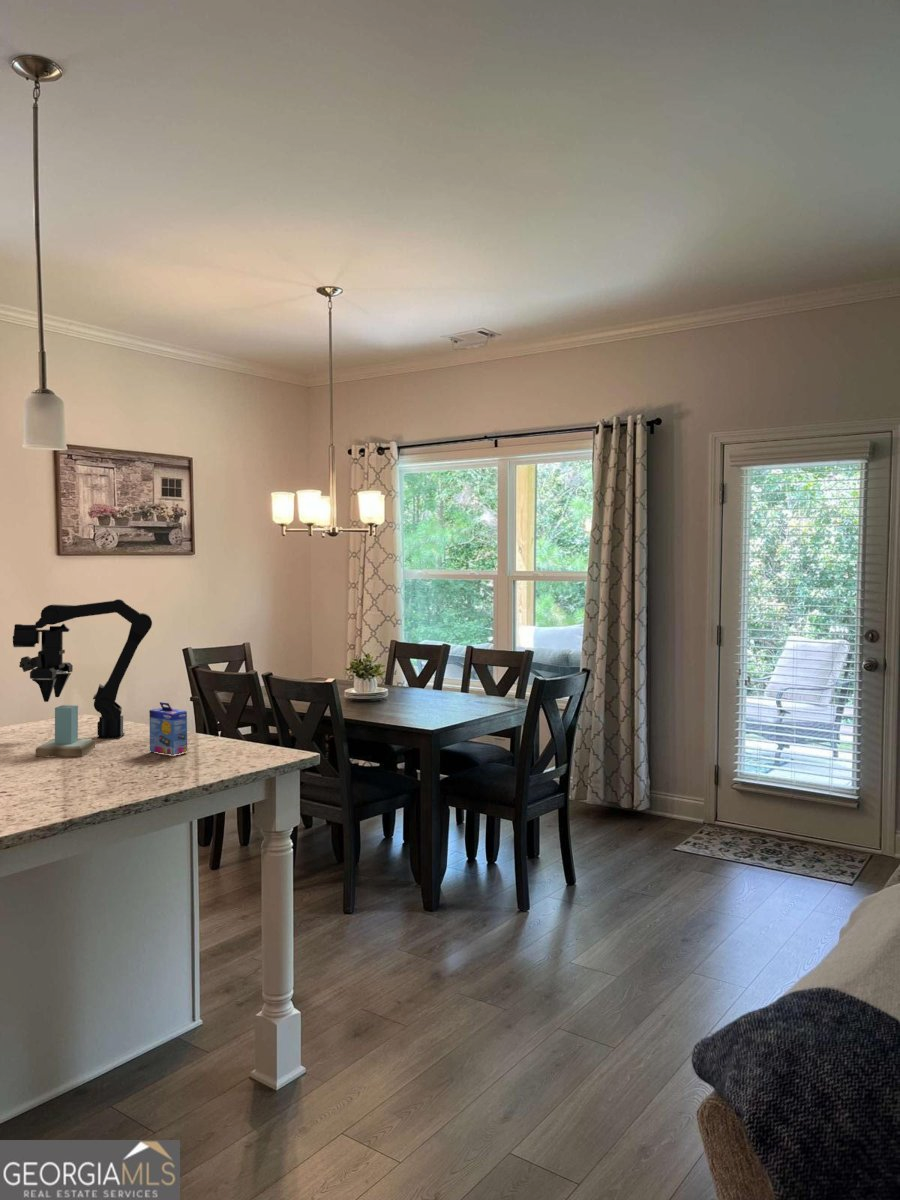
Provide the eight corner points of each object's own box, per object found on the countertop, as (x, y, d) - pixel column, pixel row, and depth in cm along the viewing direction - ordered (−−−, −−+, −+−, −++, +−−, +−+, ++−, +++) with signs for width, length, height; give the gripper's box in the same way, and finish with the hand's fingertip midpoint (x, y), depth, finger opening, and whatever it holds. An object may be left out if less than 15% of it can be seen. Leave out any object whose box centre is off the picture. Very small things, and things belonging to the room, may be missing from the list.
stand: (95, 747, 248) (95, 738, 248) (81, 756, 236) (81, 746, 236) (51, 747, 247) (51, 738, 247) (35, 756, 235) (35, 746, 235)
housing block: (61, 740, 243) (61, 705, 243) (77, 741, 244) (77, 705, 243) (54, 744, 239) (54, 707, 239) (71, 744, 239) (71, 708, 239)
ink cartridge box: (147, 753, 242) (148, 701, 242) (163, 749, 247) (164, 699, 247) (172, 757, 237) (172, 704, 237) (188, 754, 242) (188, 702, 242)
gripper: (35, 644, 266) (35, 694, 266) (11, 649, 247) (10, 704, 248) (73, 644, 267) (73, 694, 267) (51, 650, 248) (51, 704, 249)
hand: (51, 699), depth 258 cm, fingers open, 9 cm apart
